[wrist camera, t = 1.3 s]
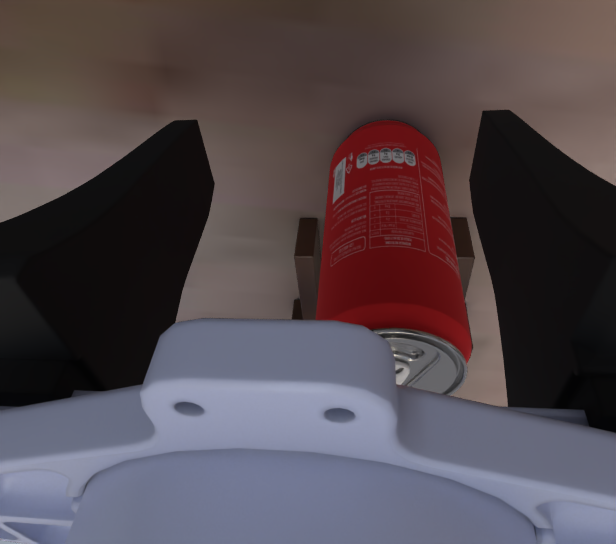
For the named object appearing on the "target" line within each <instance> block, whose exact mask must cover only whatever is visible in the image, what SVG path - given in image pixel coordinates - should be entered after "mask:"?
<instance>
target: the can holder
mask: <svg viewBox="0 0 616 544" xmlns="http://www.w3.org/2000/svg"><path fill="white" fill-rule="evenodd" d="M450 219H451V225H452V231H453V237H454V243H455V249H456V255H457V260H458V266H459V272H460V278H461V284H462V290H463V296H464V300H465V296H466V292H467V288H468V284H469V280H470V276H471V272H472V267H473V263H474V259H475V256H474V251H473V246H472V241H471V237H470V232H469V227H468V222H467V219H466V218H450ZM294 259H295V266H296V273H297V280H298V287H299V294H300V300H295V301H294V307H293V314H292V320H316V310H317V300H318V289H319V279H320V268H321V254H320V242H319V230H318V220H317V219H300V221H299V228H298V235H297V241H296V248H295V255H294ZM465 307H466V304H465ZM466 313H467V309H466ZM467 319H468V315H467ZM468 325H469V321H468ZM469 331H470V327H469ZM470 337H471V333H470ZM471 344H472V338H471ZM472 349H473V344H472ZM471 353H472V350H471ZM470 356H471V355H470Z"/></svg>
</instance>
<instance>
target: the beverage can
mask: <svg viewBox="0 0 616 544" xmlns="http://www.w3.org/2000/svg"><path fill="white" fill-rule="evenodd" d="M316 320H335V321H341V322H346V323H352V324H358V325H363V326H365V327H366V328H368V329H369V330H371V331H373V332H374V333H376V334H378V335H379V336H381V337H382V338H384V339H386V340H387V341H388V342H389V344H390V347H391V349H392V352H393V354H394V357H395V369H396V384H399V385H404V386H408V387H413V388H417V389H422V390H426V391H431V392H435V393H440V394H444V395H449V396H450V395H452V394H453V393H455V392H456V391H457V390H458V389H459V388H460V387H461V386H462V385H463V383H464V381H465V379H466V376H467V362H468V360H469V358H470V355H471V350H472V344H471V337H470V331H469V325H468V319H467V313H466V307H465V302H464V296H463V290H462V284H461V278H460V272H459V266H458V260H457V255H456V249H455V243H454V237H453V231H452V225H451V219H450V214H449V208H448V202H447V196H446V190H445V184H444V178H443V172H442V167H441V161H440V157H439V154H438V152H437V150H436V148H435V147H434V145H433V144H432V143H431V142H430V140H429V139H427V138H426V137H425V136H424V135H422V134H421V133H420V132H419V131H418V130H417V129H416V128H414V127H413V126H411V125H409V124H407V123H404V122H401V121H397V120H377V121H373V122H370V123H367V124H365V125H363V126H361V127H359V128H358V129H356V130H355V131H354V132H352V133H351V134H350V135H349V136H348V138H347V139H346V140H345V141H344V142H343V143H342V144H341V145H340V147H339V148H338V149H337V151H336V153H335V154H334V156H333V159H332V162H331V166H330V174H329V184H328V195H327V205H326V216H325V226H324V237H323V247H322V258H321V268H320V279H319V289H318V300H317V310H316Z"/></svg>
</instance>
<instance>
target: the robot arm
mask: <svg viewBox="0 0 616 544" xmlns="http://www.w3.org/2000/svg"><path fill="white" fill-rule="evenodd" d="M469 182H470V191H471V200H472V208H473V214H474V218H475V222H476V225H477V229H478V233H479V236H480V240H481V244H482V247H483V251H484V254H485V258H486V262H487V265H488V269H489V272H490V276H491V280H492V284H493V289H494V293H495V300H496V306H497V313H498V320H499V327H500V335H501V343H502V351H503V359H504V369H505V379H506V388H507V398H508V407H498V406H493V405H489V404H484V403H480V402H475V401H471V400H467V399H462V398H458V397H453V396H449V395H444V394H440V393H435V392H431V391H426V390H422V389H417V388H413V387H408V386H404V385H399V384H396V369H395V357H394V354H393V352H392V349H391V347H390V344H389V342H388V341H387V340H386V339H384V338H382V337H381V336H379V335H378V334H376V333H374V332H373V331H371V330H369V329H368V328H366V327H365V326H363V325H358V324H352V323H346V322H341V321H335V320H287V319H233V318H201V319H195V320H188V321H182V322H178V323H175V321H176V316H177V312H178V308H179V303H180V299H181V294H182V290H183V287H184V284H185V280H186V277H187V274H188V271H189V269H190V266H191V263H192V261H193V258H194V255H195V252H196V250H197V247H198V244H199V241H200V239H201V236H202V233H203V230H204V227H205V224H206V222H207V219H208V216H209V212H210V207H211V202H212V196H213V191H214V185H215V183H214V180H213V176H212V172H211V169H210V165H209V161H208V158H207V154H206V151H205V147H204V143H203V140H202V136H201V132H200V129H199V125H198V121H197V120H177V121H173V122H171V123H170V124H168V125H167V126H165V127H164V128H162V129H161V130H159V131H158V132H157V133H155V134H154V135H153V136H151V137H150V138H149V139H147V140H146V141H145V142H143V143H142V144H141V145H140V146H138V147H137V148H136V149H134V150H133V151H132V152H130V153H129V154H128V155H126V156H125V157H123V158H122V159H121V160H119V161H118V162H116V163H115V164H113V165H112V166H110V167H109V168H107V169H106V170H105V171H103V172H102V173H100V174H99V175H97V176H96V177H94V178H93V179H91V180H89V181H88V182H86V183H84V184H83V185H81V186H79V187H78V188H76V189H74V190H72V191H70V192H68V193H67V194H65V195H63V196H61V197H59V198H57V199H55V200H53V201H51V202H48V203H46V204H44V205H42V206H40V207H37V208H35V209H33V210H31V211H29V212H27V213H24V214H22V215H20V216H17V217H14V218H12V219H9V220H7V221H4V222H1V223H0V540H3V541H10V542H15V543H22V544H616V186H615V185H613V184H611V183H609V182H607V181H605V180H604V179H602V178H600V177H598V176H597V175H595V174H593V173H592V172H590V171H589V170H587V169H586V168H584V167H583V166H581V165H580V164H578V163H577V162H575V161H574V160H572V159H571V158H570V157H568V156H567V155H565V154H564V153H563V152H561V151H560V150H559V149H557V148H556V147H555V146H553V145H552V144H551V143H550V142H548V141H547V140H546V139H545V138H543V137H542V136H541V135H540V134H539V133H537V132H536V131H535V130H534V129H533V128H531V127H530V126H529V125H528V124H527V123H525V122H524V121H523V120H522V119H520V118H519V117H518V116H517V115H515V114H514V113H513V112H511V111H510V110H490V111H483V112H482V117H481V122H480V127H479V133H478V138H477V143H476V148H475V153H474V158H473V164H472V169H471V174H470V179H469Z"/></svg>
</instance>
